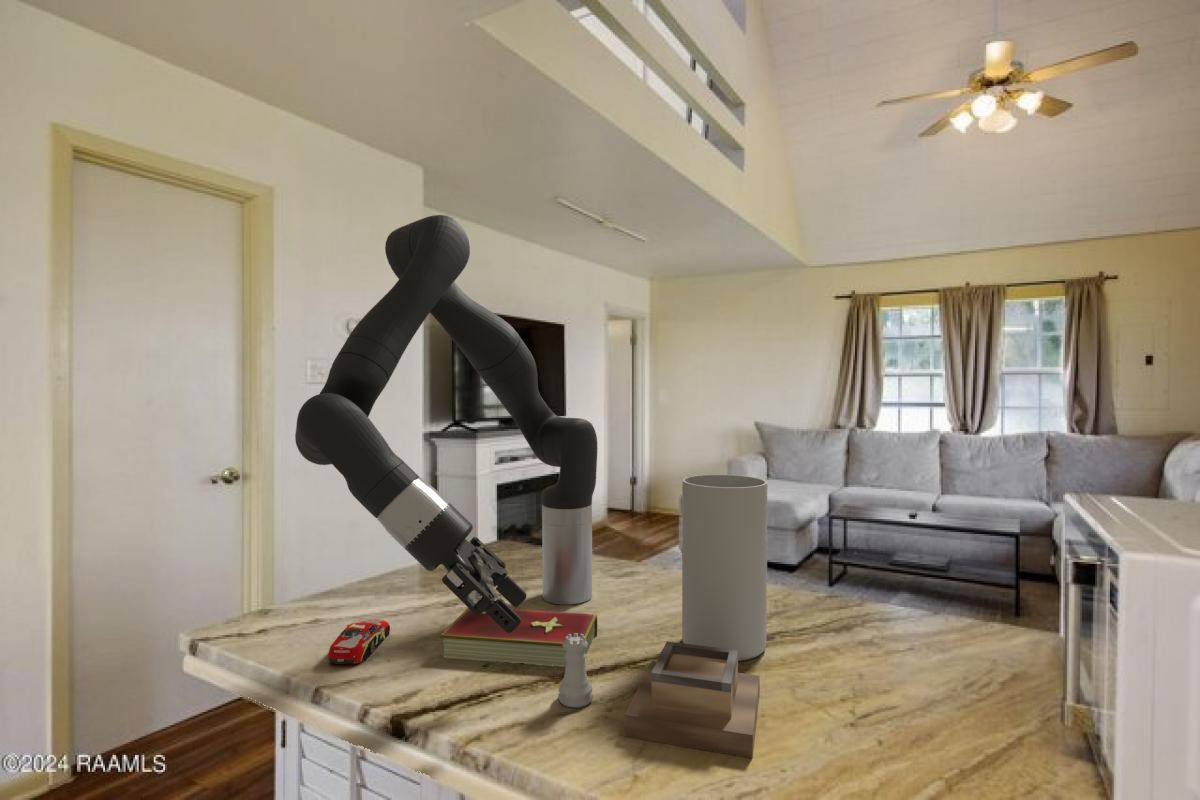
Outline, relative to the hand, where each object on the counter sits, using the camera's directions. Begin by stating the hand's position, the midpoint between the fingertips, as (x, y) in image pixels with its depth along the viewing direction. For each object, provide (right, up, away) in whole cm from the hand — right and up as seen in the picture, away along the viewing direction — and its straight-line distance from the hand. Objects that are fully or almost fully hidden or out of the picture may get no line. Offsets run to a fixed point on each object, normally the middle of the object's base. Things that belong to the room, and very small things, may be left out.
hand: (519, 613), depth 78 cm
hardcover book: (-2, -11, +17) cm, 20 cm away
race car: (-26, -11, +16) cm, 33 cm away
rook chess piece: (+7, -11, +1) cm, 13 cm away
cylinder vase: (+29, -11, +17) cm, 35 cm away
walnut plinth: (+22, -11, -3) cm, 25 cm away
